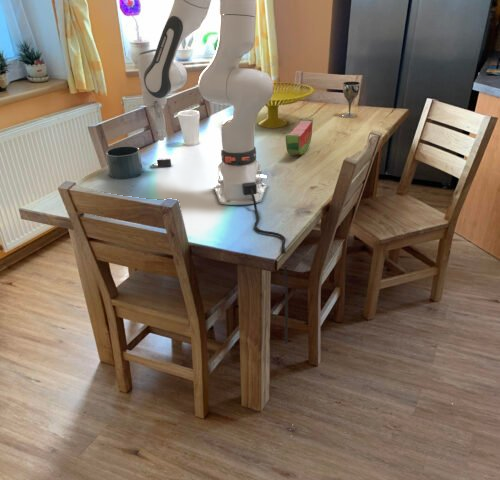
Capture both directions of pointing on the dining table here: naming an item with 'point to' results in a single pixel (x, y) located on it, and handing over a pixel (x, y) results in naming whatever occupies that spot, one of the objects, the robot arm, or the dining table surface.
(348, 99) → the wine glass
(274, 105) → the cake stand
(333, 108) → the dining table surface
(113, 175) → the blue-grey round hollow container
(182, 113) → the foam cup
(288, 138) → the fruit slice
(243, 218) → the dining table surface
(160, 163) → the two-tone pronged bar
